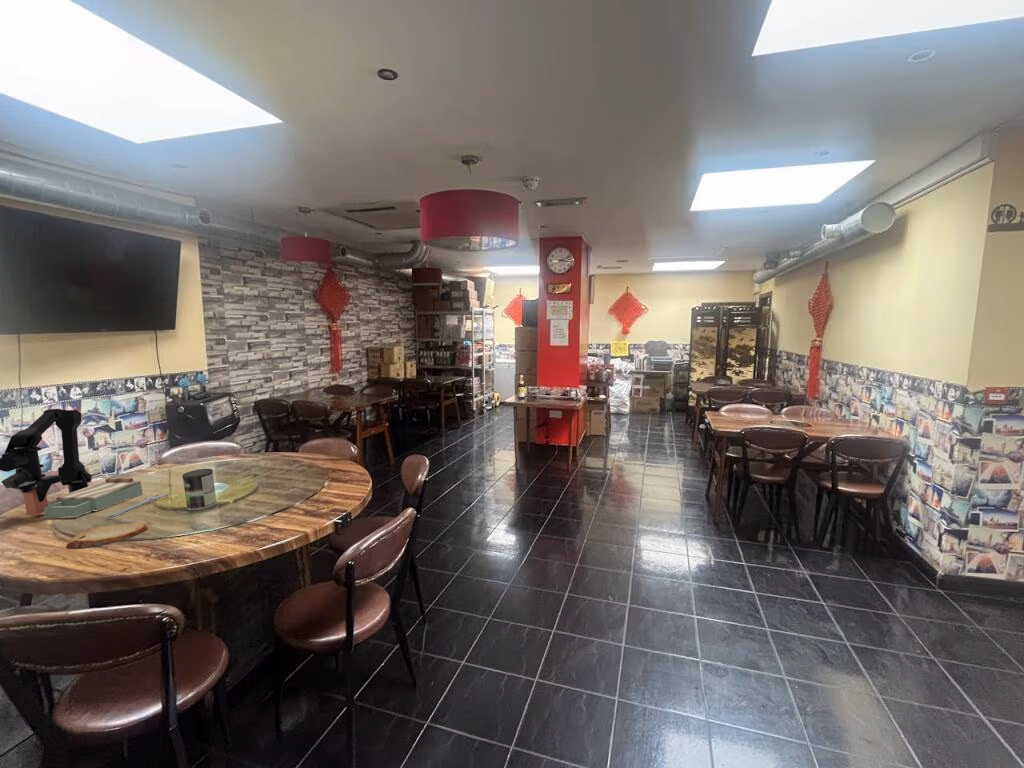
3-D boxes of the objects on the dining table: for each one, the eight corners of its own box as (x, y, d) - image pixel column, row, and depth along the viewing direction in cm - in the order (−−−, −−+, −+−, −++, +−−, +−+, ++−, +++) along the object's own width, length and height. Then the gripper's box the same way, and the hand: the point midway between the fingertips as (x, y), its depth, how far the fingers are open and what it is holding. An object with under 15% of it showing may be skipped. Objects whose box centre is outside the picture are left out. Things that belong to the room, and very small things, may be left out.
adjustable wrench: (110, 521, 171) (109, 517, 171) (96, 521, 173) (96, 516, 172) (170, 497, 196) (169, 493, 196) (158, 496, 197) (157, 492, 197)
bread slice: (153, 529, 162) (151, 519, 161) (95, 553, 145) (93, 542, 144) (119, 525, 167) (118, 515, 167) (59, 548, 150) (57, 537, 150)
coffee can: (190, 512, 175) (185, 478, 173) (184, 506, 182) (179, 473, 180) (220, 504, 182) (215, 471, 181) (213, 498, 190) (209, 467, 188)
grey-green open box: (41, 518, 177) (39, 506, 177) (107, 494, 203) (105, 483, 202) (80, 518, 175) (78, 506, 174) (142, 493, 201) (140, 483, 200)
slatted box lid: (56, 499, 183) (55, 493, 182) (105, 483, 202) (104, 477, 202) (95, 499, 181) (93, 493, 180) (140, 482, 200) (140, 477, 200)
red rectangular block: (27, 514, 178) (22, 493, 177) (39, 510, 182) (35, 489, 181) (36, 514, 177) (32, 493, 176) (49, 510, 181) (45, 489, 180)
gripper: (-17, 470, 170) (-9, 509, 172) (25, 470, 168) (33, 509, 170) (18, 462, 181) (25, 498, 183) (58, 461, 179) (65, 498, 181)
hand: (36, 501), depth 179 cm, fingers closed on red rectangular block, 4 cm apart
